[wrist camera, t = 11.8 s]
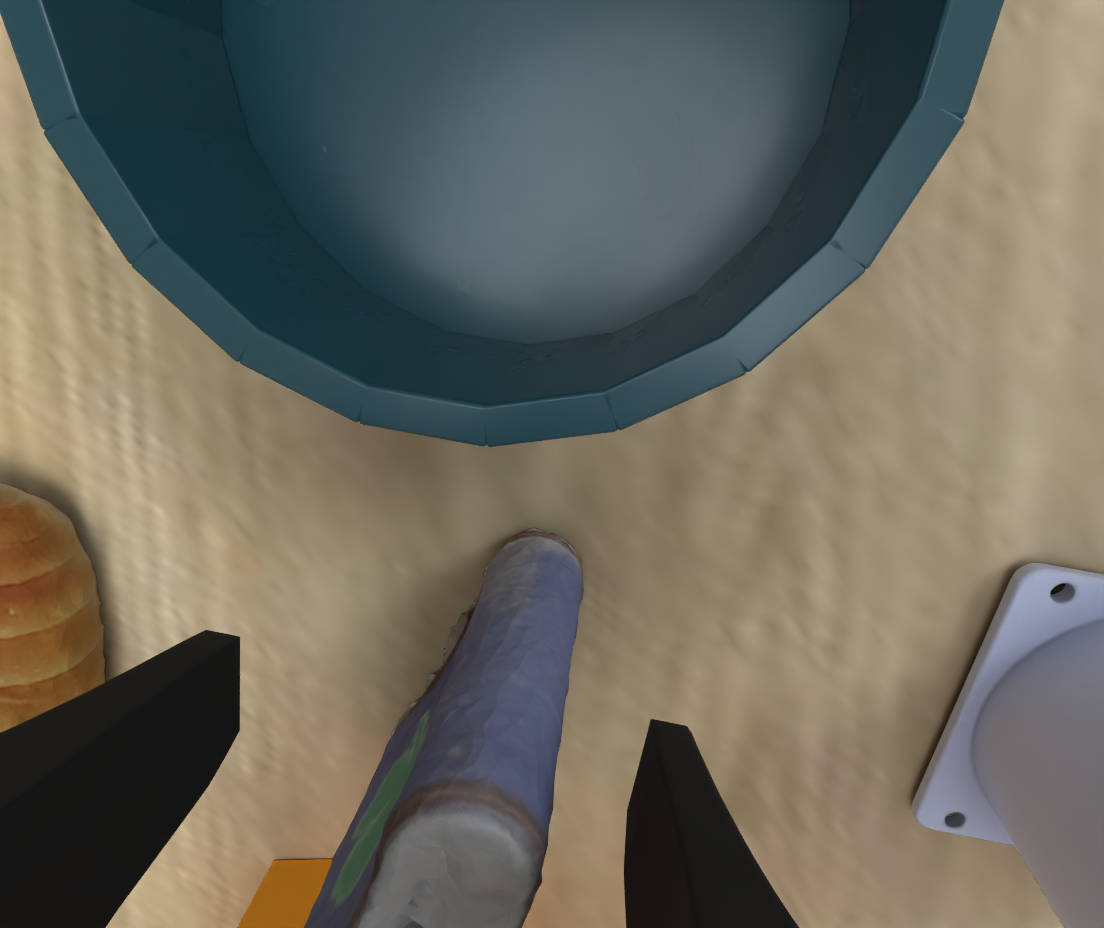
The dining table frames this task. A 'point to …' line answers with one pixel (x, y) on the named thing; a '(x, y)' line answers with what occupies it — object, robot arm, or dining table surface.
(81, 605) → the pastry
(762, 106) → the pan
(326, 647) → the dining table surface
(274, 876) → the orange juice
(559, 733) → the flask
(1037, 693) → the robot arm
